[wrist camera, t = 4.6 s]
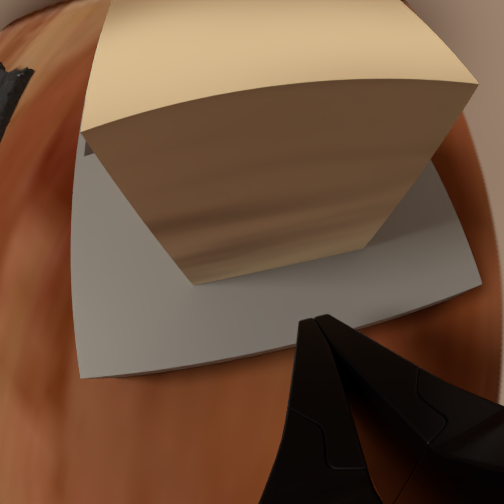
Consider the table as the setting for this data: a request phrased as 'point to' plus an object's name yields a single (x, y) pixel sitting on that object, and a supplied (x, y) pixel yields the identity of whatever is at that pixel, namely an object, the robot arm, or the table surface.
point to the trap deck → (243, 282)
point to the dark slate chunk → (11, 92)
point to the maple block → (267, 123)
